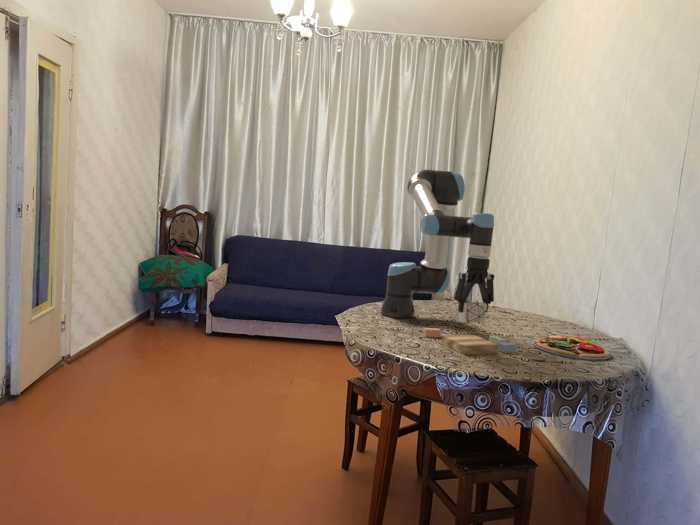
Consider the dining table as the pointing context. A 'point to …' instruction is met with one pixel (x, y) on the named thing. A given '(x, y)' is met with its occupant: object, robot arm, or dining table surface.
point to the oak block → (469, 344)
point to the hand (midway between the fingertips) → (471, 321)
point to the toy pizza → (572, 348)
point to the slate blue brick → (507, 347)
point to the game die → (473, 312)
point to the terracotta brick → (431, 332)
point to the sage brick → (496, 339)
